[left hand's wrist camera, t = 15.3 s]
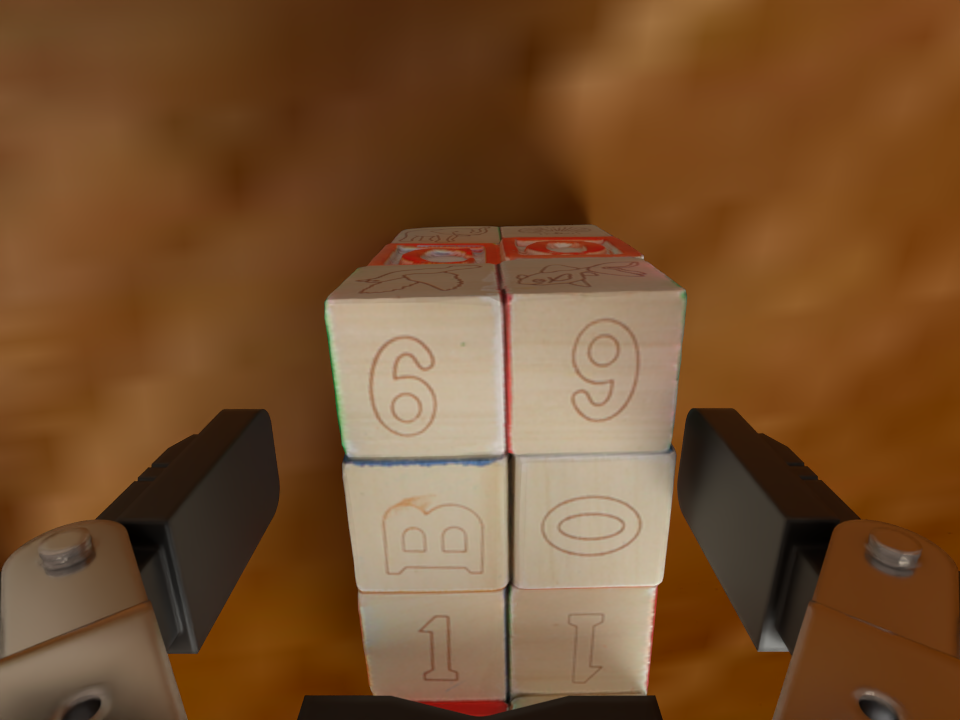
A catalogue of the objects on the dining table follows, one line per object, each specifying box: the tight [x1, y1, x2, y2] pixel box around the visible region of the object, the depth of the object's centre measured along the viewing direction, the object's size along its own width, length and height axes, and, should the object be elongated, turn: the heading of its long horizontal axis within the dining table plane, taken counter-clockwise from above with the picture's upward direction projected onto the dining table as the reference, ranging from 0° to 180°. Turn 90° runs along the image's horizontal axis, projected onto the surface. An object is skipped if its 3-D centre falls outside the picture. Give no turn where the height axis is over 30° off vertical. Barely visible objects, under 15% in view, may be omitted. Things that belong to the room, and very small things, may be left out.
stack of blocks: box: [324, 225, 687, 716], centre depth 16 cm, size 21×6×12 cm, turn 1°
